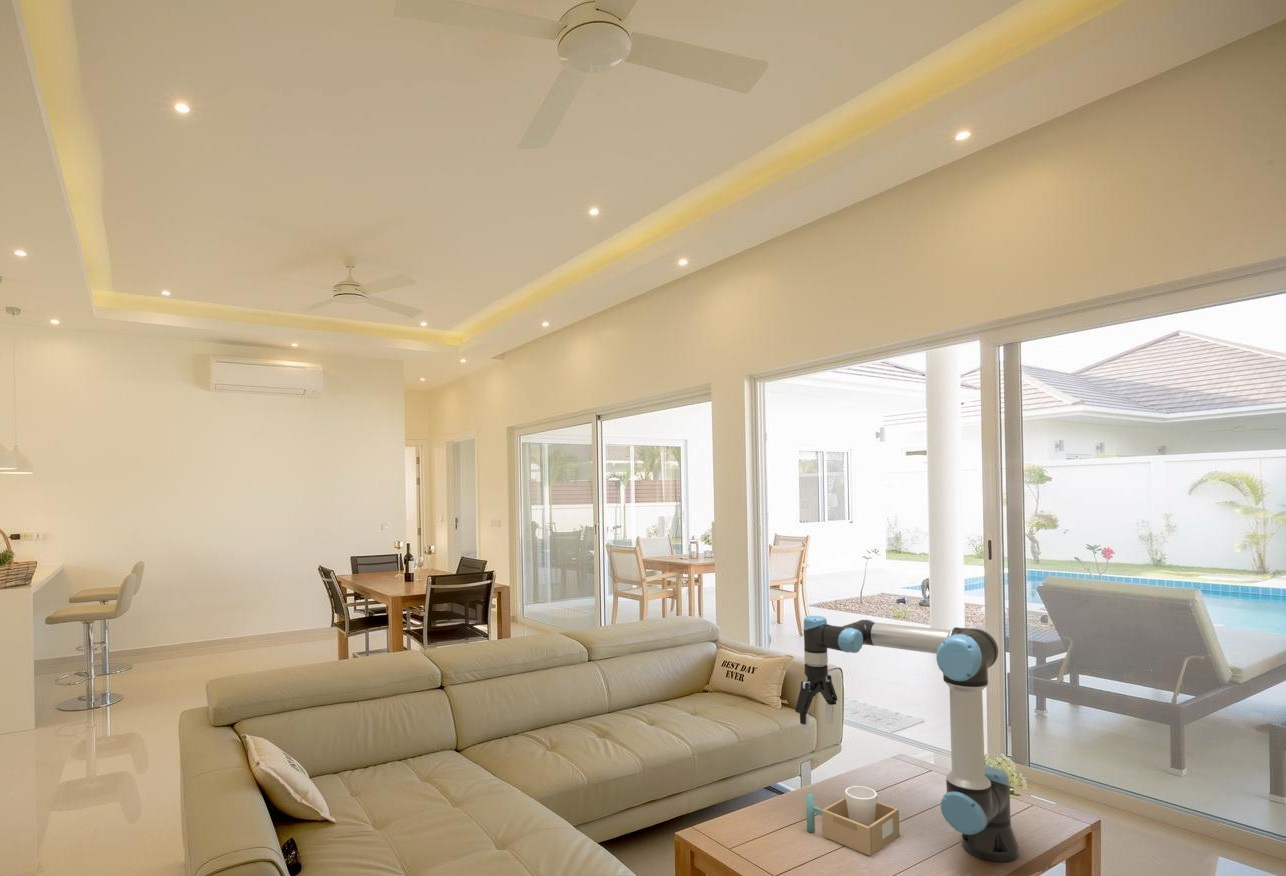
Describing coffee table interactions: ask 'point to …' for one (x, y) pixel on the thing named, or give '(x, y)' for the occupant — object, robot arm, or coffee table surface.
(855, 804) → the foam cup
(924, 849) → the coffee table surface
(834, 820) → the teal-tan flat piece
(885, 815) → the carton
